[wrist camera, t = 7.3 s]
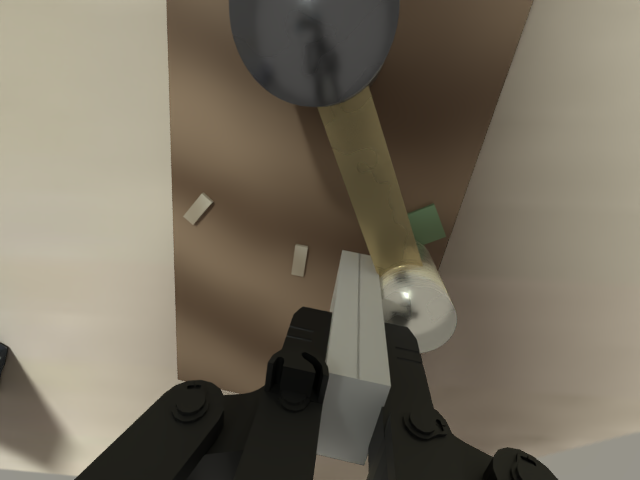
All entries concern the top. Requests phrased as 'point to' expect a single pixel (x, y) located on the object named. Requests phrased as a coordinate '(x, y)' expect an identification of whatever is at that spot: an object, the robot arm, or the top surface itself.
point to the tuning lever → (350, 133)
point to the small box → (2, 356)
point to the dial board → (309, 172)
